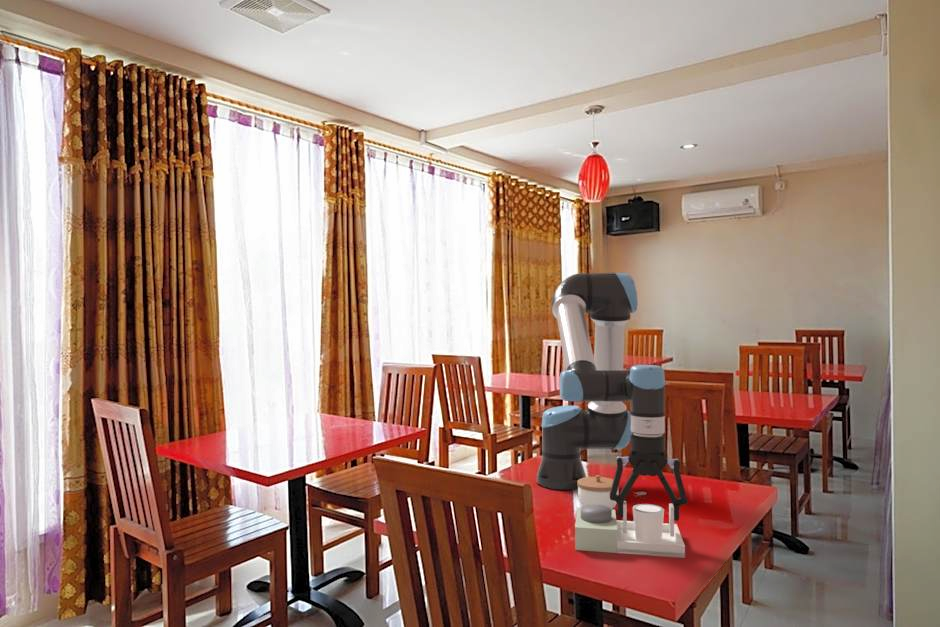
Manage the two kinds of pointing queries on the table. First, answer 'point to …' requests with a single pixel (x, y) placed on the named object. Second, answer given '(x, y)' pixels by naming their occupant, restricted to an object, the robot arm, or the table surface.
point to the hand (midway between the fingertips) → (648, 532)
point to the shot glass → (648, 522)
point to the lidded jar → (596, 491)
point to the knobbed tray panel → (620, 535)
